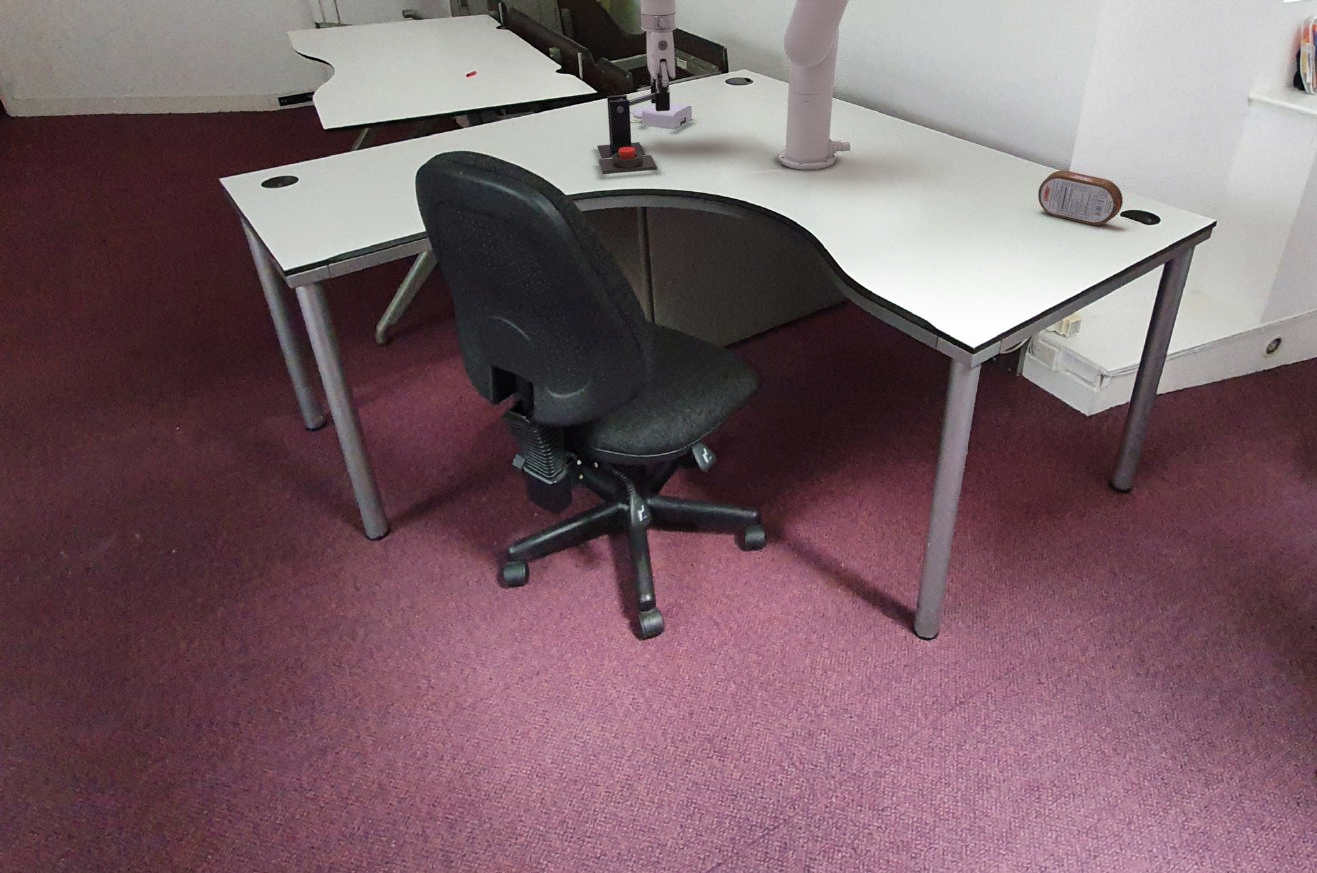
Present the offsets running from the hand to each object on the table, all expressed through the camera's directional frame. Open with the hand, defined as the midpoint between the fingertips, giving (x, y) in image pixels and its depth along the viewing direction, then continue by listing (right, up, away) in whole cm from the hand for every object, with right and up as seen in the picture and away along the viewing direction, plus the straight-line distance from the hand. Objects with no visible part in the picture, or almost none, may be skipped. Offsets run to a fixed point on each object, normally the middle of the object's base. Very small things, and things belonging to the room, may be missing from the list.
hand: (660, 106), depth 213 cm
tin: (+79, -34, -35) cm, 92 cm away
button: (-7, -14, -6) cm, 17 cm away
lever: (-5, 0, -1) cm, 5 cm away
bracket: (-9, -10, +5) cm, 14 cm away
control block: (-7, -16, -4) cm, 18 cm away
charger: (-1, +3, +23) cm, 24 cm away
